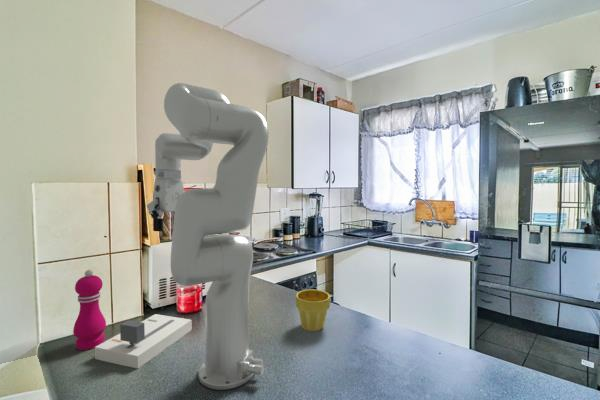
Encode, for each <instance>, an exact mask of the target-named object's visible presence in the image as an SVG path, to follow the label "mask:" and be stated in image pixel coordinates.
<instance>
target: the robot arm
mask: <svg viewBox="0 0 600 400" xmlns="http://www.w3.org/2000/svg"><path fill="white" fill-rule="evenodd" d="M163 109H164V113H165V116H166V117H167V120H168V121H169V122H170V123H171V124H172V126H173V127H175V129H176V130H177V131H178V132H179V133H178V134H177V133H168V132H165V133H160V135H159V136H158V137H157V138H156V139H155V143H154V149H155V150H154V152H155V153H154V154H155V155H154V157H155V158H154V160H155V165H154V166H155V173H154V175H155V180H154V184H153V191H152V201H150V202H149V203H147V205H146V208H147V210H148V214H149V216H150V217H151V219H152V227H153V228H152V231H154V232H160V233H161V232H163V231H164V218H162V217H163V216H164V214H165V212H166V213H170V212H171V213H172V212H174V214H173V222H172V223H173V225H172V237H171V250H170V273H171V276H172V279H173V280H174V283H176V284H177V285H179V286H183V287H190V286H195V285H196V286H197V285H202V284H206V283H210V282H211V284H210V286H209V288H208V289H207V293H206V297H205V302H204V303H205V307H204V308H205V361H204V362H203V363H202V364H201V365H200V367H199V369H198V380H199V382H200V383H201V384H202V385H203V386H205V387H207V389H208V388H209V389H212V390H217V391H218V390H219V391H223V390H225V391H226V390H231V389H235V388H239V387H240V386H242V385H245V384H246V383H247V382H249V381H250V380H251V379H252V378H253V376H254V375H258V376H261V377H262V376H263V374H264V372H265V366H264V360H263V359H260V358H255V357H254V354H253V353H254V351H253V349H250V348H249V347H250V346H249V343H250V342H249V325H250V324H249V321H250V320H249V318H250V317H249V315H250V313H249V310H250V309H249V308H250V307H249V304H250V303H249V301H250V300H249V299H250V298H249V297H250V293H249V292H250V280H251V274H252V273H251V272H252V267H253V262H254V249H253V248H254V247H253V245H252V243H251V242H250V240H249V239H248V238H247V237H245V236H243V235H241V234H234V233H237V232H242V231H244V230H246V229H248V228H249V226H250V225H251V222H252V219H253V215H254V214H253V213H254V207H255V200H256V194H257V187H258V181H259V180H258V179H259V173H260V169H261V167H262V163H263V161H264V158H265V155H266V152H267V149H268V144H269V139H270V138H269V134H270V133H269V125H268V123H267V120H266V118H265V117H264V116H263V114H261V113H260V112H259V111H257V110H255V109H253V108H249V107H248V106H244V105H239V104H234V103H231V102H230V101H229V99H228V98H227V96H225V95H224V94H223V93H221V92H220V91H217V90H213V89H211V88H205V87H202V86H197V85H192V84H189V83H185V82H184V83H182V82H177V83H174V84H172V85H171V86H170V87H169V88H168V89H167V91H166V93H165V95H164V100H163ZM214 144H217V145H218V144H220V145H230V146H231V145H232V146H233V147H231V148H230V149H229V150H228V151H227V152H226V153H225V154H224V156H223V157H222V159H220V162H219V163H218V166H217V167H216V168H217V170H216V178H215V184H214V186H213V187H212V188H208V187H207V188H205V187H203V188H191V189H187V190H185V188H184V183H183V181H182V161H181V160H186V161H200V160H202V159H204V158H206V157H207V156H208V155H209V154H211V152H212V148H213V145H214ZM229 233H230V234H229ZM231 233H233V234H231ZM205 236H206V237H205Z"/></svg>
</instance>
